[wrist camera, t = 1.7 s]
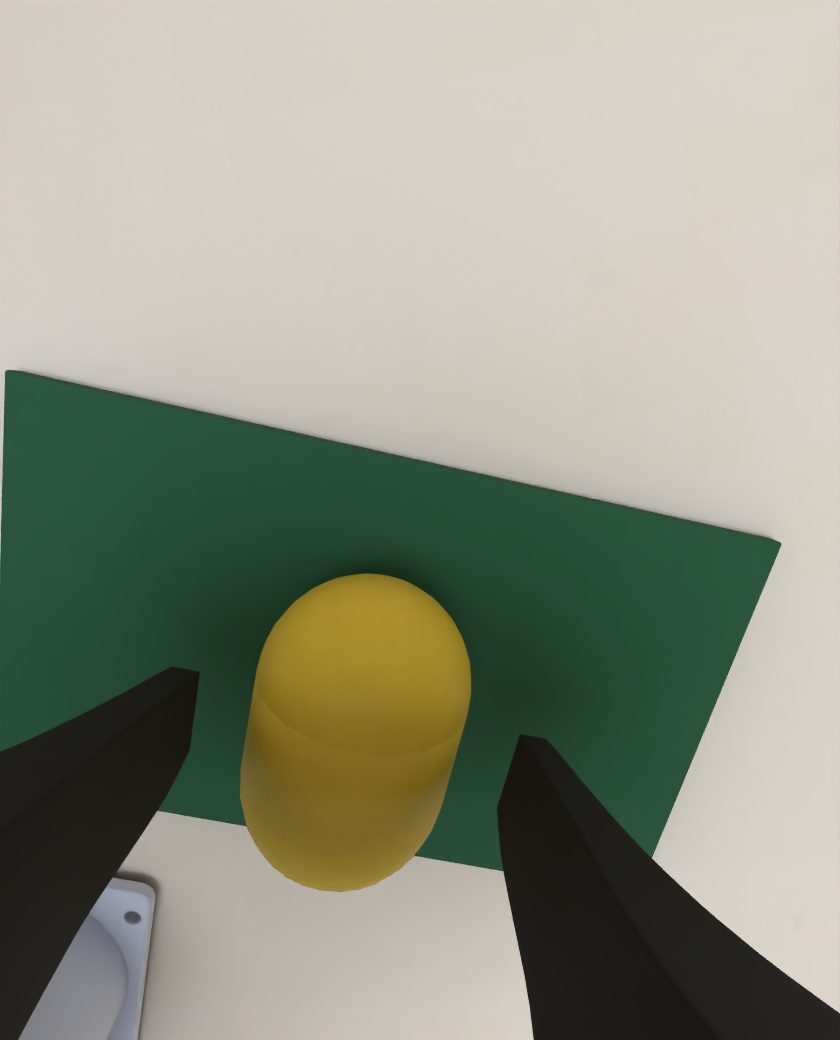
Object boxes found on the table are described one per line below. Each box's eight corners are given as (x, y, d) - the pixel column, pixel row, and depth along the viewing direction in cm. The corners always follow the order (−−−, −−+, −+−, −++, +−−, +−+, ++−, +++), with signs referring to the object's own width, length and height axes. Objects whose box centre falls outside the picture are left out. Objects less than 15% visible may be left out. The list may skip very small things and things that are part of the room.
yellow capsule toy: (421, 791, 15) (423, 968, 10) (261, 761, 15) (190, 930, 10) (480, 568, 13) (515, 661, 9) (302, 530, 13) (238, 606, 8)
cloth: (632, 883, 16) (636, 895, 16) (4, 772, 15) (-7, 782, 15) (772, 538, 14) (783, 543, 13) (17, 370, 12) (4, 369, 12)
